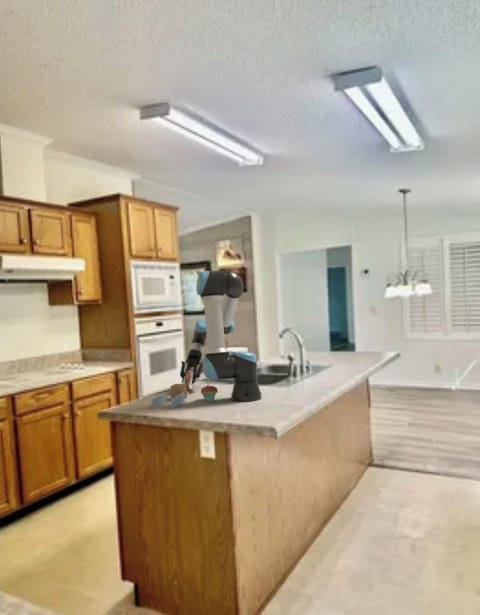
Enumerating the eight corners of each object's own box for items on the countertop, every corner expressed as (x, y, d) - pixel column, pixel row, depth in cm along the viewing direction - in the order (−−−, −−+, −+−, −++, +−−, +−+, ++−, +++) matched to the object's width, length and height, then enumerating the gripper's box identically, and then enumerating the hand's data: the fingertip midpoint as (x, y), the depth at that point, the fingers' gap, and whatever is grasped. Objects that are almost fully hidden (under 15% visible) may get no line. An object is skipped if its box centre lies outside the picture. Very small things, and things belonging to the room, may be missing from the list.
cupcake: (198, 399, 246) (197, 375, 246) (214, 397, 250) (213, 373, 249) (204, 402, 238) (203, 378, 238) (220, 400, 242) (219, 376, 241)
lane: (164, 401, 245) (164, 392, 245) (184, 401, 242) (184, 392, 242) (152, 408, 232) (152, 398, 232) (173, 408, 229) (173, 399, 229)
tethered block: (185, 391, 267) (184, 370, 266) (196, 391, 265) (195, 370, 265) (171, 399, 247) (170, 377, 247) (182, 400, 246) (181, 377, 245)
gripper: (211, 356, 276) (202, 392, 260) (184, 356, 280) (174, 391, 265) (207, 348, 270) (199, 384, 255) (180, 348, 275) (170, 384, 259)
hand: (186, 388), depth 260 cm, fingers closed on tethered block, 3 cm apart
